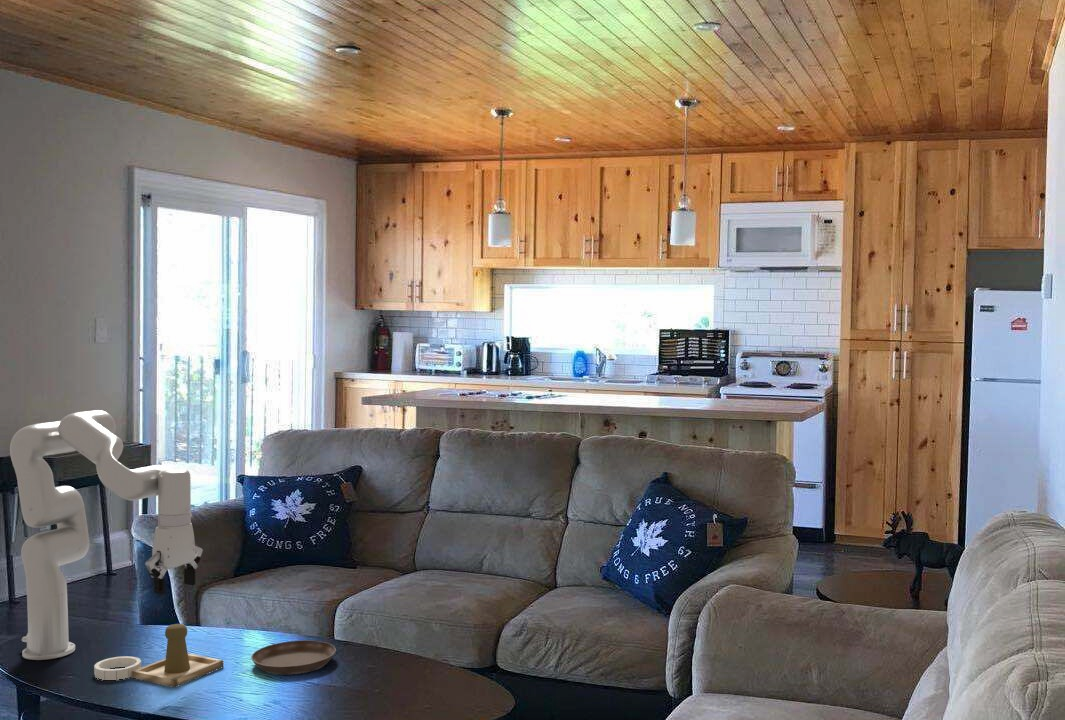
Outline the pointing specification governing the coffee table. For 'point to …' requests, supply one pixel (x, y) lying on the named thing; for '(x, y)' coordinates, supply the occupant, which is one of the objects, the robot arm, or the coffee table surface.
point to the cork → (176, 649)
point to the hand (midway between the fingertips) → (174, 589)
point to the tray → (158, 675)
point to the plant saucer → (293, 657)
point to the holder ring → (106, 673)
